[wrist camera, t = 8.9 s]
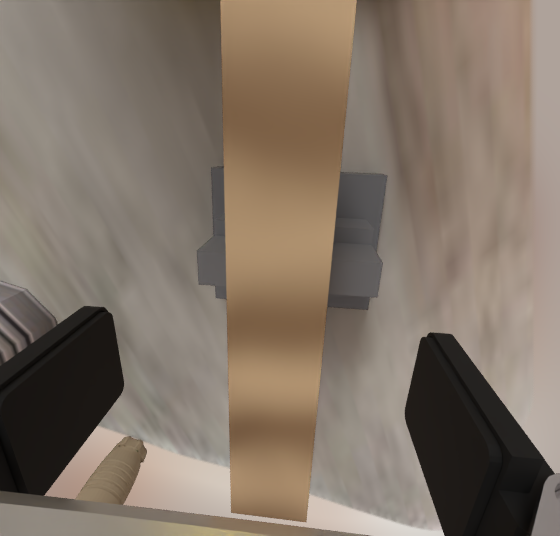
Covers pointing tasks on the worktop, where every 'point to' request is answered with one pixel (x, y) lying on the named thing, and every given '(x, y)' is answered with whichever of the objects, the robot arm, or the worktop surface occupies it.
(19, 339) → the can
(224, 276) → the fulcrum stand
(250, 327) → the oak batten
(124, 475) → the handle
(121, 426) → the worktop surface
